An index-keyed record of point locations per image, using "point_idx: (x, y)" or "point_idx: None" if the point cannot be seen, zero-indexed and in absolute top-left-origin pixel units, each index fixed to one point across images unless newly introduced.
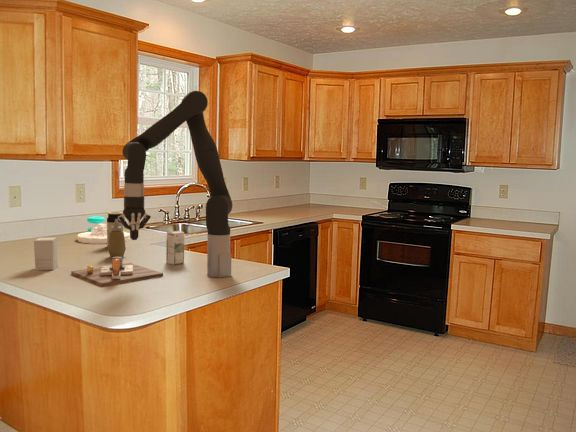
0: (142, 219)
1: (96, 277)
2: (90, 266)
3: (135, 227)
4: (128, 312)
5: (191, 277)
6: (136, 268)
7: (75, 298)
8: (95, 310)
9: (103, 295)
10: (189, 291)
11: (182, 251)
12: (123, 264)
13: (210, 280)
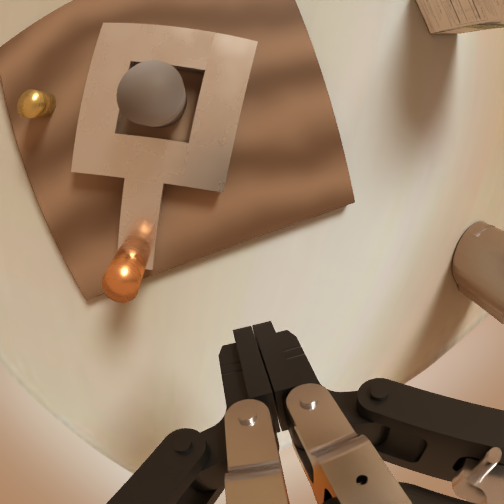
0: (461, 441)
1: (61, 190)
2: (28, 108)
3: (300, 442)
4: None
5: (416, 255)
6: (271, 51)
7: (45, 383)
8: (110, 455)
9: (107, 385)
10: None
11: (487, 28)
12: None
13: (432, 306)
